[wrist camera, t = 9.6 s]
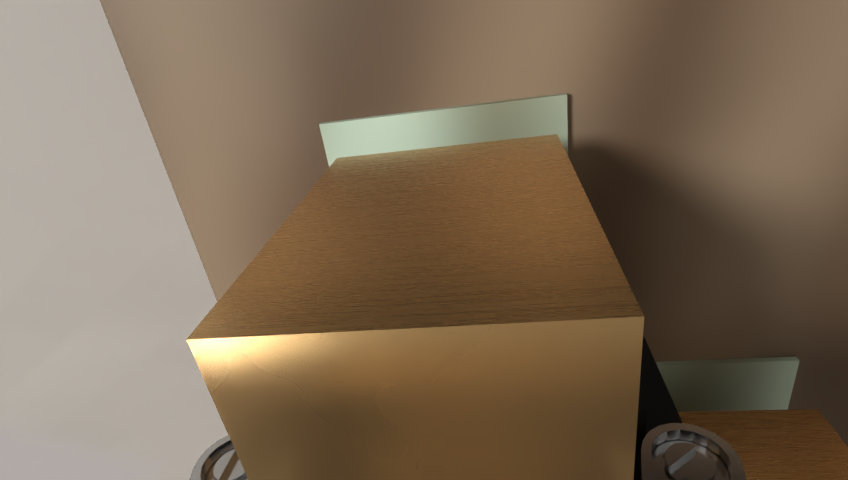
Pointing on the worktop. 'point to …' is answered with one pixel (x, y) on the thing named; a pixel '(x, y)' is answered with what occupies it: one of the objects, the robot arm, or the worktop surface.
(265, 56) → the arena mat
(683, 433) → the robot arm
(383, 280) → the bracket
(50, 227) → the worktop surface
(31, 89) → the worktop surface
